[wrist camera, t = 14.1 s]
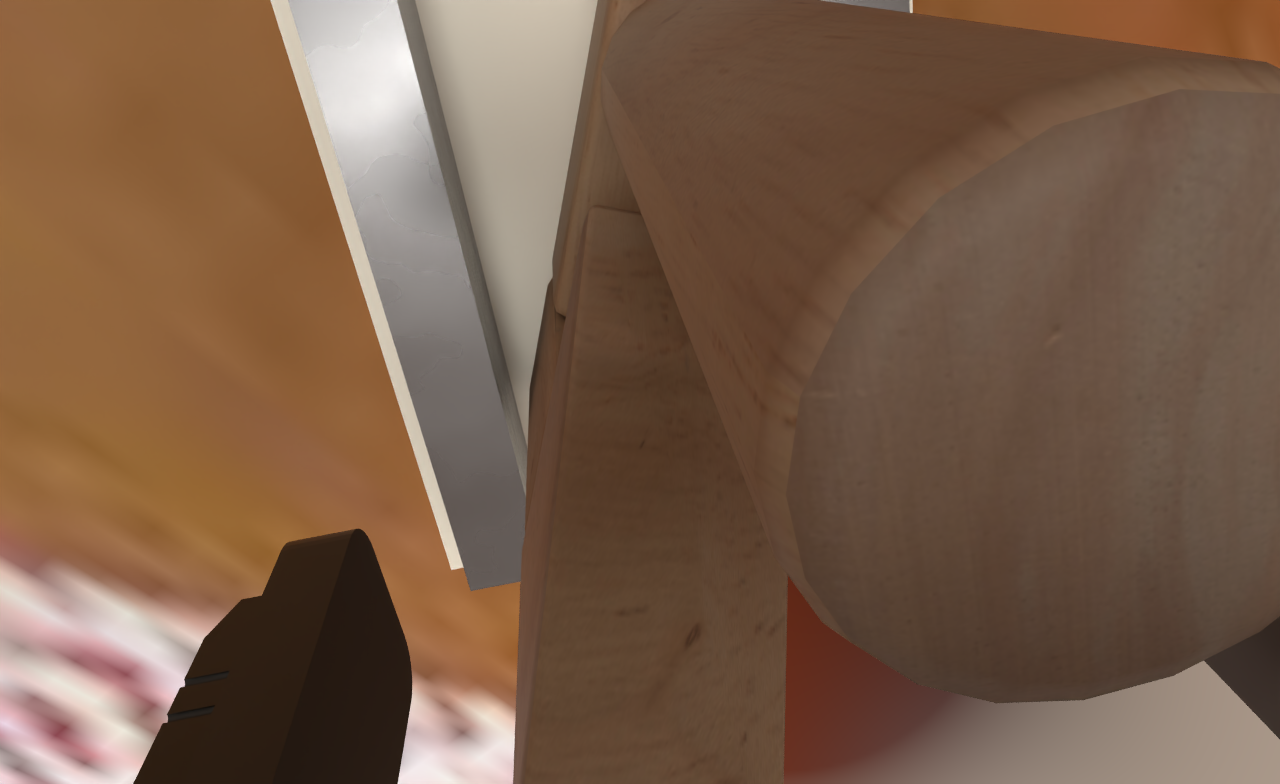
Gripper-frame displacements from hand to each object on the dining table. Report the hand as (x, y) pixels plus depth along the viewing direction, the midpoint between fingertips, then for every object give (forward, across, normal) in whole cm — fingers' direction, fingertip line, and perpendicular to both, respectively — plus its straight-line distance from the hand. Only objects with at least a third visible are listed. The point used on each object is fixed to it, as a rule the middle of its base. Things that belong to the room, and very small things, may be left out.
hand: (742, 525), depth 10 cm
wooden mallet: (+14, 0, 0) cm, 14 cm away
